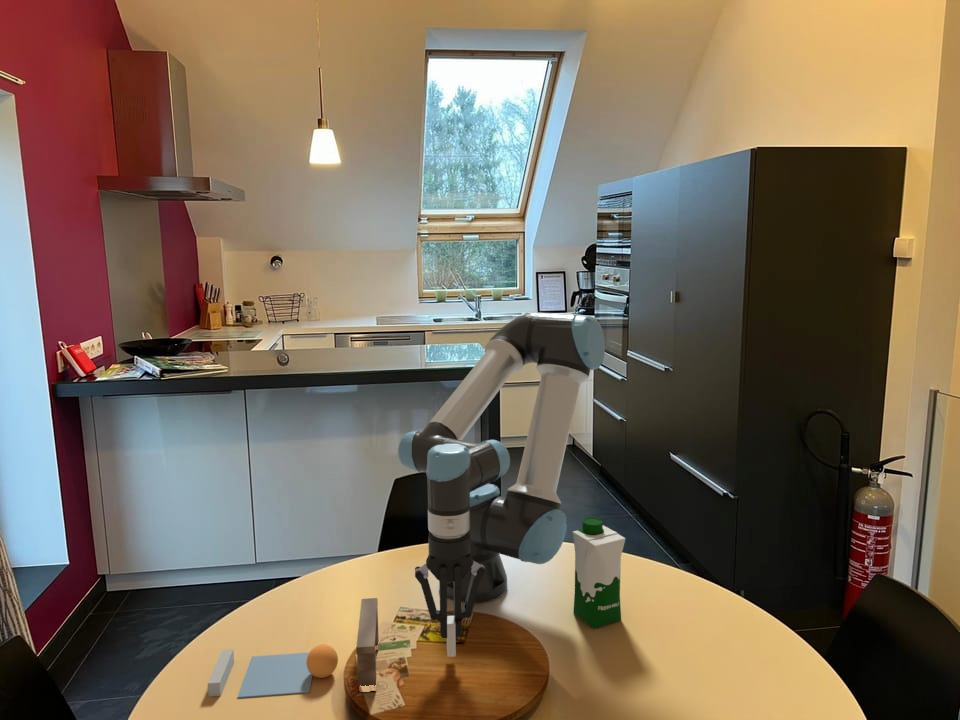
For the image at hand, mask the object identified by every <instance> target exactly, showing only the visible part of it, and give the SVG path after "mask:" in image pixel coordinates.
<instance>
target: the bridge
mask: <svg viewBox="0 0 960 720" xmlns="http://www.w3.org/2000/svg"><path fill="white" fill-rule="evenodd" d="M378 600H379V599H378V597H373V598H371V597H370V598H361V601H360V609H359V619H358V620H359V622H358V629H357V636H356V637H357V639H356V645H355V647H356V659H357V661H356V662H357V683H358V686H360V685H361V686H365V685H366V686H369V685H374V686H375V685H376V679H377V656H376V652H377V651H375V646H377V645H378V642H379V641H380V640H379V616H378V615H379V613H378V604H379V602H378ZM379 643H380V642H379Z"/></svg>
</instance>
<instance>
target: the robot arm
mask: <svg viewBox="0 0 960 720" xmlns="http://www.w3.org/2000/svg"><path fill="white" fill-rule="evenodd" d="M605 349H606V342H605V335H604V331H603V327H602V326H601V324H600V322H599V321H598V319H596V318H595V317H594V316H592V315H585V314H579V313H573V314H572V313H556V312H542V311H533V312H528V313H525V314H522V315H520V316H518V317H516V318H514V319H512V320H510V321H509V322H508V323H506V324H505V325H504V326H502V327H501V328H500V329H499V330H497V331H496V333H495V334H494V335H493V336H492V337H491V338H490V339H489V340H488V342H487V343H486V344H485V347H484V354H483V355H482V356H481V358H479V360H478V361H477V362H476V363H475V365H474V366H473V367H472V369H471V370H470V371H469V373H468V374H467V375H466V376H465V377H464V378H463V380H462V381H461V382H460V384H459V385H458V386H457V387H456V389H455V390H454V391H453V392H452V394H451V395H450V396H449V397H448V399H447V400H446V401H445V403H443V405H442V406H441V407H440V409H439V410H438V411H437V412H436V413H435V415H434V416H433V417H432V419H431V420H430V421H429V422H428V423H427V425H425V427H424V428H423V430H422V431H419V430H416V431H413V430H412V431H409V432H406V433H405V434H404V435H403V436H402V437H401V439H400V441H399V443H398V447H397V455H398V459H399V461H400V463H401V464H402V466H403V467H405V468H407V469H409V470H410V469H411V470H414V471H416V472H419V473H426V481H427V528H428V531H429V532H428V535H427V536H428V537H427V538H428V556H427V557H426V561H425V563H424V564H423V565H421V566H416V567H415V568H414V577H415V579H416V580H417V581H418V583H419V584H420V586H421V589H422V594H423V596H424V599H425V600H424V601H425V603H426V607H427V610H428V614H429V617H430V620H431V621H433V622H435V621H438V622H439V626H440V627H439V628H440V629H439V630H440V637H441V639H446V652H447V657H448V658H450V657H451V658H452V657H453V658H454V657H457V652H456V651H457V650H456V649H457V647H456V645H457V644H456V643H457V642H456V640H457V639H456V638H461V637H462V633H463V632H462V623H463V620H464V619H470V618H471V617H472V614H473V611H474V606H475V604H477V603H486V602H490V601H493V600H496V599H499V598H500V597H502V596H503V594H505V593H506V591H507V588H508V576H507V572H506V570H505V567H504V564H503V560H502V558H501V555H503V556H506V557H510V558H514V559H517V560H519V561H521V562H525V563H531V564H535V565H543V564H546V563H549V562H550V561H551V560H552V559H553V558H554V557H555V556H556V555H557V554H558V552H559V551H560V549H561V547H562V545H563V543H564V540H565V536H566V534H567V527H568V525H567V520H568V519H567V516H566V515H565V513H564V512H563V511H562V510H561V504H562V501H561V500H560V498H559V496H558V495H557V489H558V485H559V481H560V476H561V471H562V466H563V463H564V457H565V452H566V449H567V445H568V439H569V434H570V431H571V426H572V422H573V418H574V413H575V409H576V403H577V400H578V394H579V389H580V386H581V385H582V384H583V383H585V382H587V381H588V380H589V377H590V374H591V371H594V370H597V369H599V368H600V367H601V365H602V364H603V362H604V358H605V353H606V352H605V351H606V350H605ZM533 363H535V364H536V369H537V371H538V373H539V375H540V381H539V386H538V389H537V394H536V397H535V398H536V399H535V402H534V407H533V411H532V415H531V420H530V423H529V428H528V432H527V437H526V441H525V445H524V449H523V454H522V458H521V462H520V466H519V470H518V475H517V480H516V482H515V483H514V484H513V485H511V486H510V487H508V488H507V491H506V494H505V497H503V496H500V494H501V492H500V488H499V487H498V486H497V485H495V484H492V483H493V482H496V481H497V480H498V479H499V478H501V477H503V476H504V475H505V474H507V472H508V471H509V469H510V466H511V456H510V453H509V451H508V449H507V447H506V446H505V445H504V444H503V443H502V442H501V441H499V440H496V439H489V440H482V441H481V442H477V443H476V442H472V441H466V440H464V438H465V437H466V436H467V434H468V432H469V431H470V430H471V428H472V427H473V426H474V425H475V423H476V422H477V420H479V418H480V417H481V416H482V414H483V413H484V411H485V410H486V409H487V407H488V406H489V404H490V403H491V402H492V400H493V399H494V398H495V397H496V395H497V394H498V393H499V391H500V390H501V389H502V387H504V384H505V383H506V382H507V381H508V379H509V378H510V377H511V375H512V374H516V373H518V372H520V371H521V369H522V368H523V367H524V366H525V365H528V364H533ZM429 571H430V573H431V574H432V575H433V576H434V577H435V579H436V580H437V581H438V582H439V583H438V584H439V586H438V587H439V609H437V607H436V603H435V599H434V596H433V592H432V590H431V585H430V582H429V579H428V578H429V575H430V574H429ZM448 599H450V600H452V601H453V615H448ZM462 603H464V605H463V608H462Z"/></svg>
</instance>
